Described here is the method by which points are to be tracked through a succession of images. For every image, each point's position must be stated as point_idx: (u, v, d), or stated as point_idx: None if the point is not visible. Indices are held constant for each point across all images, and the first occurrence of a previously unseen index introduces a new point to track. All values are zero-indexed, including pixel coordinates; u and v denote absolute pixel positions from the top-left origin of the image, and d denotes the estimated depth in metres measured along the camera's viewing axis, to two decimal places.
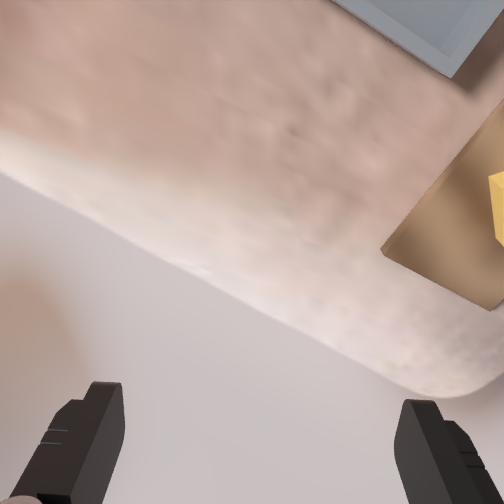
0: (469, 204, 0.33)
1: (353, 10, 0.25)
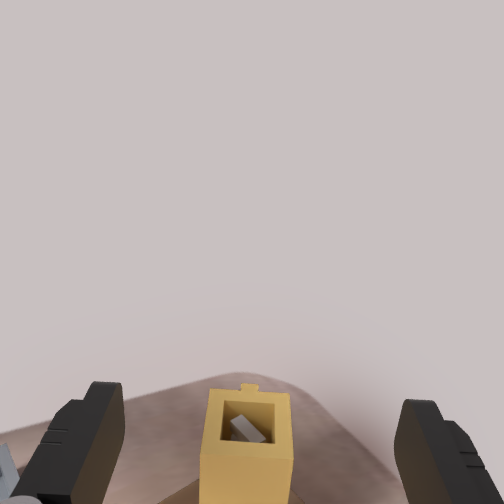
0: None
1: None
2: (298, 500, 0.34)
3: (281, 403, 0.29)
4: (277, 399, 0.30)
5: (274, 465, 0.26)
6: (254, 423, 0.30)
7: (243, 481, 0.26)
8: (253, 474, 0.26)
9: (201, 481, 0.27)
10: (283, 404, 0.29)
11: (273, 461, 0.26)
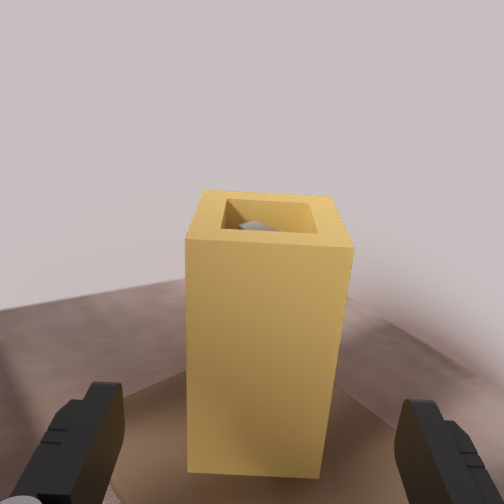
0: None
1: None
2: (339, 393, 0.23)
3: (320, 202, 0.18)
4: (313, 200, 0.18)
5: (320, 261, 0.14)
6: None
7: (263, 299, 0.15)
8: (281, 283, 0.15)
9: (189, 302, 0.15)
10: (323, 203, 0.18)
11: (317, 254, 0.14)
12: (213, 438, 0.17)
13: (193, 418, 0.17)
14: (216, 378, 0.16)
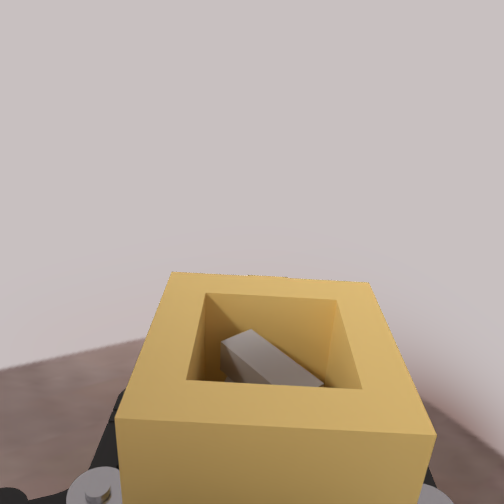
0: None
1: None
2: None
3: (355, 298, 0.11)
4: (342, 292, 0.12)
5: (369, 456, 0.08)
6: None
7: None
8: (296, 488, 0.08)
9: None
10: (360, 301, 0.11)
11: (365, 443, 0.08)
12: None
13: None
14: None
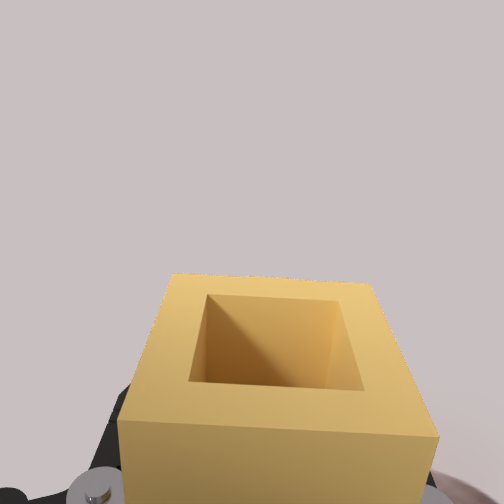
0: None
1: None
2: None
3: (357, 300, 0.11)
4: (344, 293, 0.12)
5: (372, 458, 0.08)
6: (284, 358, 0.12)
7: None
8: (298, 490, 0.08)
9: None
10: (361, 302, 0.11)
11: (367, 445, 0.08)
12: None
13: None
14: None
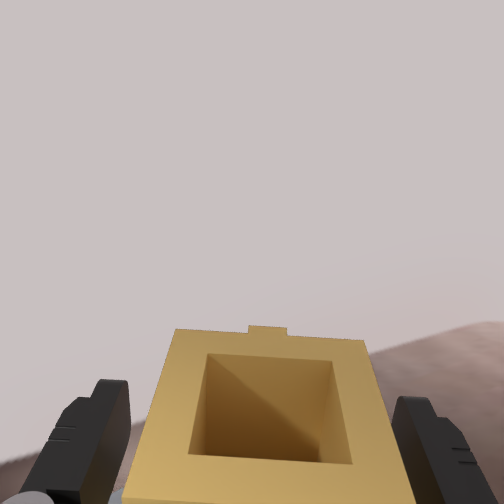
0: None
1: None
2: None
3: (349, 359, 0.12)
4: (338, 352, 0.12)
5: None
6: (281, 412, 0.13)
7: None
8: None
9: None
10: (354, 363, 0.12)
11: None
12: None
13: None
14: None
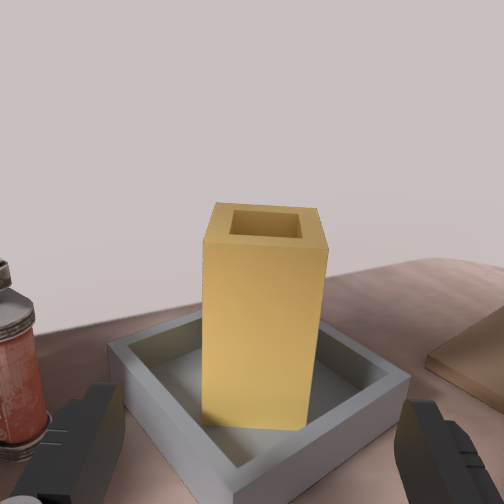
0: None
1: (317, 435, 0.20)
2: None
3: (307, 213, 0.23)
4: (302, 211, 0.23)
5: (303, 259, 0.19)
6: None
7: (260, 288, 0.20)
8: (274, 275, 0.20)
9: (205, 289, 0.20)
10: (310, 214, 0.23)
11: (301, 253, 0.19)
12: (222, 397, 0.22)
13: (207, 380, 0.22)
14: (225, 348, 0.21)
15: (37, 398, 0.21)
